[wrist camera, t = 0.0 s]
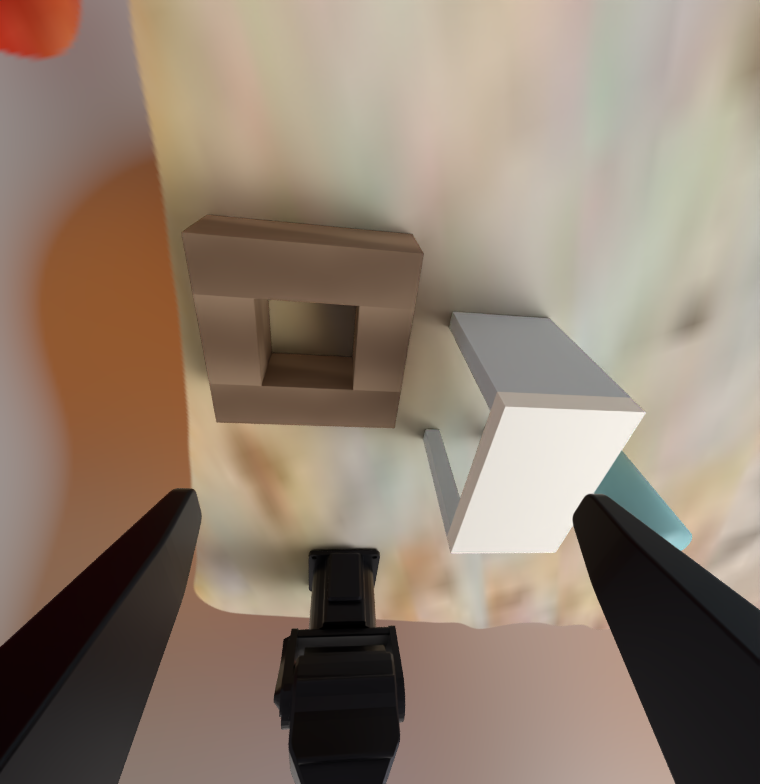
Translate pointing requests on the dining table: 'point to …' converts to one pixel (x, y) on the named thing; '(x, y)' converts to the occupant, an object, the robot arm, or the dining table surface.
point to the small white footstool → (529, 436)
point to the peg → (642, 501)
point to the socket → (302, 284)
